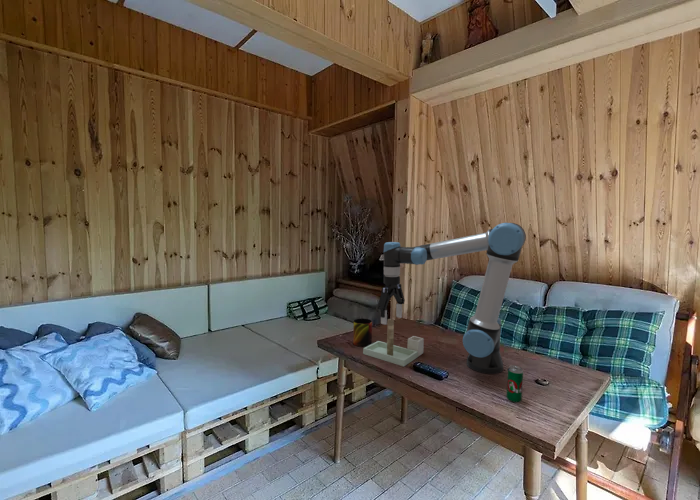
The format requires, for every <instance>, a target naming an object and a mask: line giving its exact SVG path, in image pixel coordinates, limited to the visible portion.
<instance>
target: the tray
mask: <svg viewBox="0 0 700 500" xmlns="http://www.w3.org/2000/svg"><path fill="white" fill-rule="evenodd" d="M362 354H363V355H366V356H368V357H372V358H375V359H378V360H381V361H385V362H387V363H390V364H395V365H397V366H400V367H405V366H407V365H408V364H410V363H411V362H413V361H414V360H416V359H417V358H418V357H419V356H418V351H414V350H410V349H407V348H406V347H402V346H399V345H395V344H393V356H391V355H387V342H384V341H380V340H376V342H372V344H371V345H369V346H367V347H362Z"/></svg>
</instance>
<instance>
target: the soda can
mask: <svg viewBox="0 0 700 500" xmlns="http://www.w3.org/2000/svg"><path fill="white" fill-rule="evenodd" d="M506 379H507V380H506V396H505V397H506V399H507V400H509V402H512V403H521V401H522V399H523V385H524V384H523V383H524V382H523V381H524V380H523V379H524V371H523V368H522V367H521V366H519V365H509V366H508V368H507V375H506Z"/></svg>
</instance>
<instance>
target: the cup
mask: <svg viewBox="0 0 700 500" xmlns="http://www.w3.org/2000/svg"><path fill="white" fill-rule="evenodd" d="M424 342H425V339H424V337H419V336H416V335H412V336H410V337H408V338H407V345H406V346H407V349H410V350H414V351H418V357H420V356H421V355H422V354H424Z"/></svg>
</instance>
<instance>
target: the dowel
mask: <svg viewBox="0 0 700 500" xmlns="http://www.w3.org/2000/svg"><path fill="white" fill-rule="evenodd" d="M386 328H387V329H386V330H387V331H386V334H387V335H386V343H387V355H391V356H393V345H394V344H395V343H394V339H395V338H394V335H395V333H394V332H395V331H394V330H395V320H394V319H393V318H387V326H386Z"/></svg>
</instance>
